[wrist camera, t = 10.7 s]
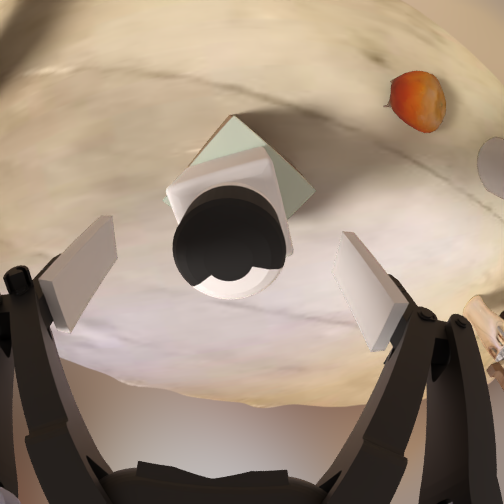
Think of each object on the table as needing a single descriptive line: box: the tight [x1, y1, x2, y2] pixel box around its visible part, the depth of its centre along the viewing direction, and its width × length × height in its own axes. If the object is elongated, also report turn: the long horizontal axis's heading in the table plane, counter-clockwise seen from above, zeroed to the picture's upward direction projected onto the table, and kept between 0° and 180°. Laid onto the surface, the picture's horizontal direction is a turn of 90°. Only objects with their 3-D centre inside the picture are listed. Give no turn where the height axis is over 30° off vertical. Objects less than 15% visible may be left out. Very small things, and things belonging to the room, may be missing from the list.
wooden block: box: [487, 362, 504, 390], centre depth 57 cm, size 7×3×15 cm, turn 80°
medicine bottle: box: [166, 147, 294, 299], centre depth 19 cm, size 7×7×12 cm
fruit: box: [384, 71, 446, 133], centre depth 26 cm, size 8×8×8 cm
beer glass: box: [463, 295, 504, 362], centre depth 40 cm, size 7×7×15 cm
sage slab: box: [163, 116, 316, 220], centre depth 27 cm, size 10×10×5 cm
